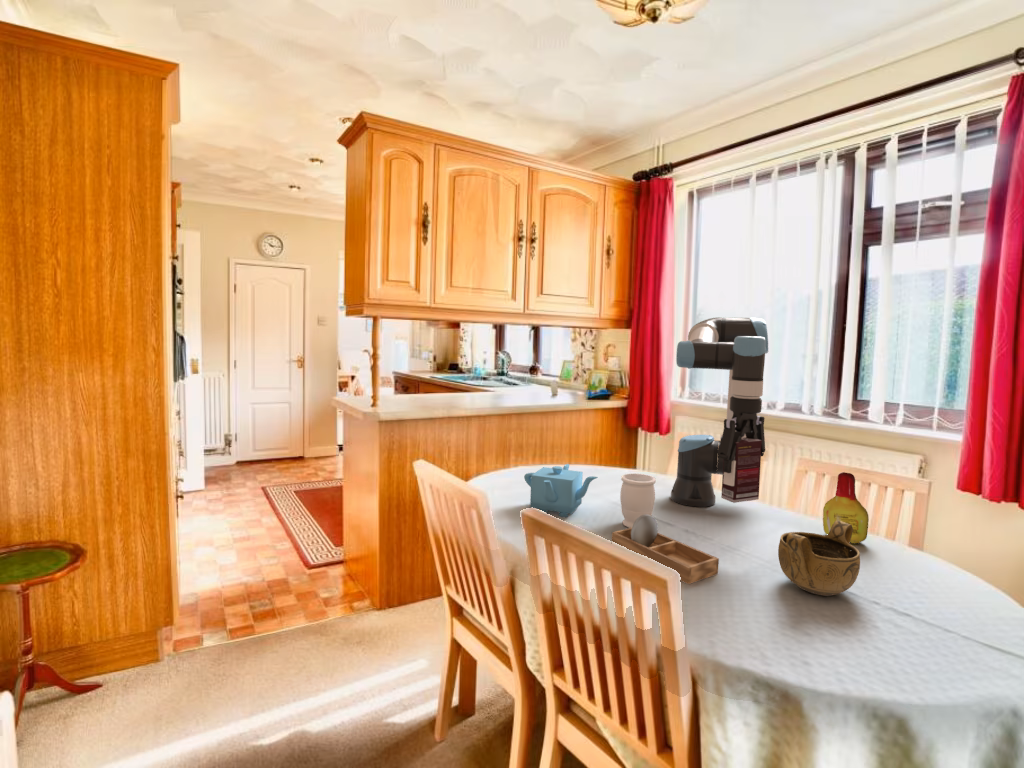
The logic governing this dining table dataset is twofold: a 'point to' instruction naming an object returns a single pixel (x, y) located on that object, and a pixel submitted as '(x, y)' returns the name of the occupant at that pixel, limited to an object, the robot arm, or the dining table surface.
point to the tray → (666, 550)
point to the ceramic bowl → (820, 560)
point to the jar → (636, 497)
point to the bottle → (846, 509)
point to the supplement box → (745, 472)
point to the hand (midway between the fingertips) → (740, 482)
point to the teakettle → (557, 489)
